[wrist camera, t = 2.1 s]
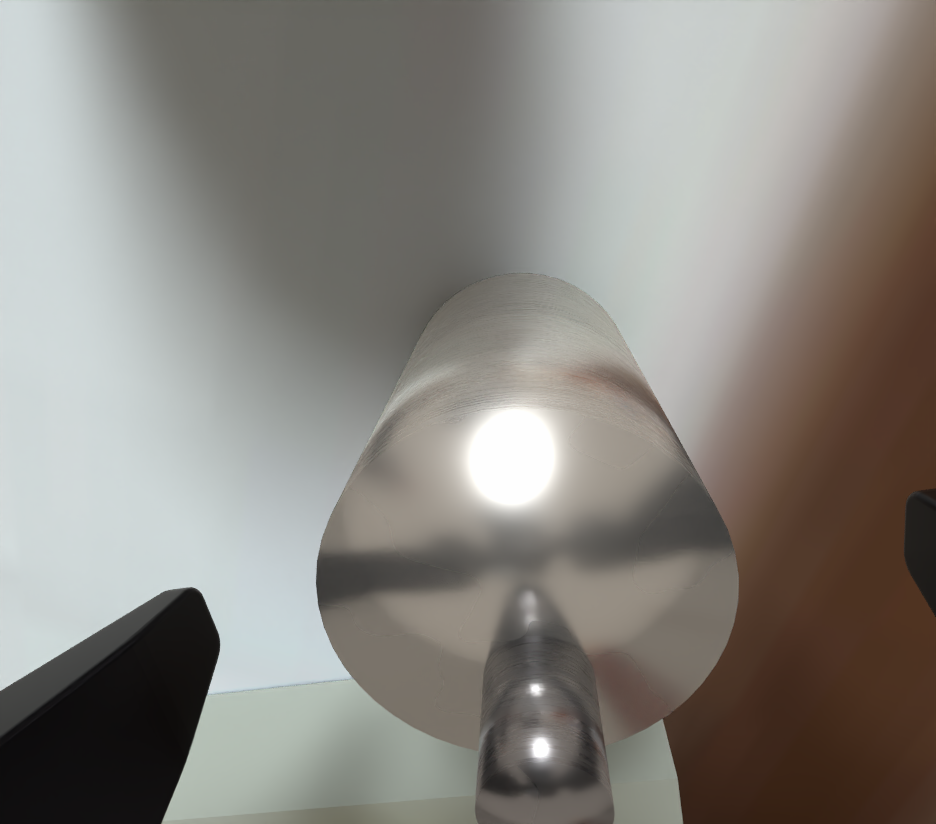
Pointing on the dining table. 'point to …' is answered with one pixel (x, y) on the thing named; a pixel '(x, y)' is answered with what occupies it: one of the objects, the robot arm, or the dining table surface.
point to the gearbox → (366, 765)
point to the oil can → (527, 550)
